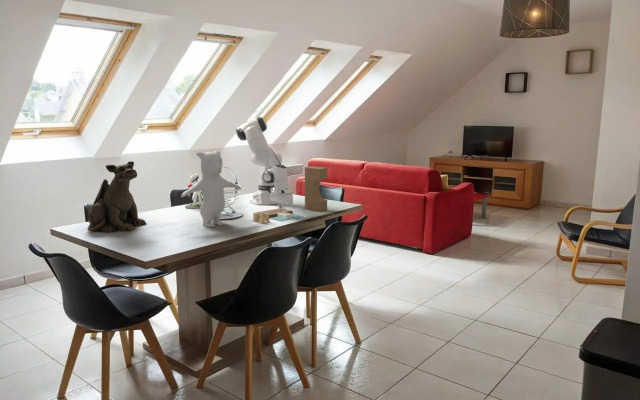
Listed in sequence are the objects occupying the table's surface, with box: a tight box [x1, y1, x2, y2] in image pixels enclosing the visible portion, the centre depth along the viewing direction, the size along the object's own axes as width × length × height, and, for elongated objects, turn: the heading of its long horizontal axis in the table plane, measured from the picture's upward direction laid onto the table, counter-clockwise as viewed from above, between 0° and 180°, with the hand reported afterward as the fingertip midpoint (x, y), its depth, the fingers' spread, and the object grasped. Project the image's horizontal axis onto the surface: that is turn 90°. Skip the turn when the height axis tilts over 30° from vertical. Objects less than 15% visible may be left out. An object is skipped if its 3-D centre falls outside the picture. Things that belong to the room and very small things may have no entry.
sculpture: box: [87, 161, 147, 233], centre depth 301 cm, size 31×36×40 cm
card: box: [277, 212, 294, 218], centre depth 335 cm, size 9×6×2 cm, turn 44°
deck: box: [255, 208, 294, 218], centre depth 343 cm, size 13×22×2 cm, turn 133°
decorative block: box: [304, 165, 328, 213], centre depth 358 cm, size 15×8×30 cm, turn 48°
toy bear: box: [180, 150, 242, 228], centre depth 309 cm, size 42×17×45 cm, turn 135°
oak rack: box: [252, 211, 271, 225], centre depth 321 cm, size 10×6×6 cm, turn 43°
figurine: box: [184, 172, 203, 210], centre depth 368 cm, size 17×17×25 cm
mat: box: [269, 213, 305, 222], centre depth 334 cm, size 12×20×1 cm, turn 133°
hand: (281, 210), depth 337 cm, fingers closed
